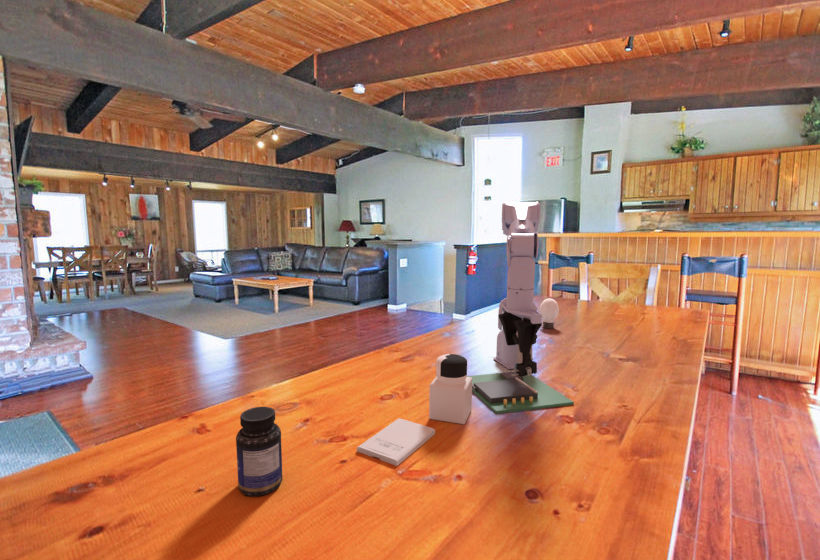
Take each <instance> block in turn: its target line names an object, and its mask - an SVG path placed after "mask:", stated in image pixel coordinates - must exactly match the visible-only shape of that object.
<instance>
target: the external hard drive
mask: <svg viewBox="0 0 820 560" xmlns="http://www.w3.org/2000/svg"><path fill="white" fill-rule="evenodd" d="M435 434H436V429H435V428H433V427H430V426H427V425H423V424H420V423H417V422H413V421H410V420H407V419H404V418H403V419H402V418H397V419H396V420H394V421H392V422H391V423H390V424H389V425H387V426H386V427H384V428H383V429H381V430H380V431H378V432H377V433H375V434H374V435H373V436H371V437H369V438H368V439H367V440H365V441H364V442H363V443H362V444H360V445H358V446H357V447H356V452H357V453H360V454H363V455H365V456H369V457H371V458H375V459H379V460H380V461H382V462H384V463H388V464H391V465H393V466H395V467H398V466H399V465H400V464H402V463H403V462H404V461H405V460H406V459H408V458H409V457H410V456H411V455H412V454H413V453H414V452H416V451H417V450H418V449H419V448H420V447H421V446H423V445H424V444H425V443H426V442H427V441H428V440H430V439H431V438H433V436H435Z"/></svg>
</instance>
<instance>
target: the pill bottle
mask: <svg viewBox="0 0 820 560" xmlns="http://www.w3.org/2000/svg"><path fill="white" fill-rule="evenodd" d="M239 419H240V422H239V423H240V426H241V427H242V428H239V430H238V431H237V433H236V436H235V446H236V462H237V463H236V465H237V468H236V469H237V481H238V482H237V484H238V486H237V487H238V490H239V491H240V492H241V493H242V494H243V495H245V496H247V497H259V496H260V497H261V496H266V495H268V494H270V493H272V492H275V491H276V490H277V489H278V488H279V487H280V485H281V484H282V482H283V455H282V454H283V453H282V449H283V448H282V432H281V431H282V430H281V427H280V426H279V425H278V424H277V423H275V420H276V411H275V409H274V408H272V407H268V406H256V407H252V408H248V409H246V410H244V411H243V412H241V414H240V416H239Z"/></svg>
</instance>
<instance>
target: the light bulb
mask: <svg viewBox="0 0 820 560" xmlns="http://www.w3.org/2000/svg"><path fill="white" fill-rule="evenodd" d="M559 307H560V306H559V304H558V302H557V301H556V300H555V299H554V298H551V297H549V298H546V299H544V300H542V302H541V303H540V307H539V313H540V314H542V328H543V329H554V328H555V319H557V317H559V313H560V308H559Z"/></svg>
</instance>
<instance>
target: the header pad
mask: <svg viewBox="0 0 820 560" xmlns="http://www.w3.org/2000/svg"><path fill="white" fill-rule="evenodd" d="M474 386H475V387H477V391H478V392H479V393H480V394H481V395H482V396H483V397H484V398H485V399H486V400H487V401H489V402H490V403H491V404H493V403H502V402H504V399H507V402H511V401H512V399H513V398H515V399H516V401H520V400H521V397H524V400H529V397H530V396H532V397H533V399H538V392H537V391H536V390H535V389H533V388H532V387H530V386H529V385H527V384H526V383H524V382H523V381H522V380H520V379H519V378H517V377H516V378H515V379H508V380H498V381H488V382H478V383H474Z"/></svg>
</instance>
